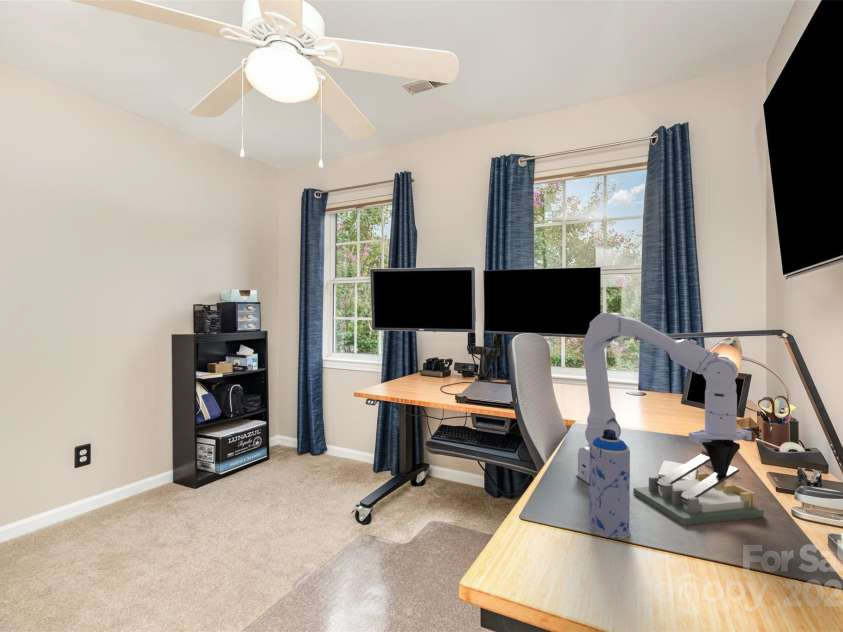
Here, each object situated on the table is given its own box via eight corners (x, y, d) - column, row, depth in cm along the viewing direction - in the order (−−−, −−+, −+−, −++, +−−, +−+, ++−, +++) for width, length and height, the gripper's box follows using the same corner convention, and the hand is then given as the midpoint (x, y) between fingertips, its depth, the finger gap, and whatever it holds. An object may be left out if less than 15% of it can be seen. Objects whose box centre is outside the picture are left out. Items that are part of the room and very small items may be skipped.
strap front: (689, 502, 88) (688, 500, 88) (680, 497, 90) (679, 495, 90) (739, 471, 90) (738, 468, 90) (728, 466, 93) (727, 464, 93)
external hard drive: (697, 472, 115) (694, 487, 105) (663, 465, 120) (657, 479, 110) (697, 466, 115) (694, 480, 105) (663, 460, 120) (657, 473, 110)
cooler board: (684, 525, 85) (684, 504, 84) (633, 494, 99) (633, 475, 99) (763, 516, 88) (763, 496, 88) (703, 487, 103) (703, 469, 103)
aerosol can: (594, 514, 89) (595, 423, 89) (634, 527, 84) (635, 430, 84) (582, 529, 83) (583, 431, 83) (624, 543, 78) (625, 439, 78)
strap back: (664, 488, 95) (663, 486, 95) (656, 484, 97) (655, 482, 97) (711, 459, 97) (710, 457, 97) (701, 456, 100) (700, 453, 100)
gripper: (708, 418, 85) (708, 483, 86) (765, 415, 88) (765, 477, 88) (681, 410, 92) (680, 470, 92) (734, 407, 95) (734, 465, 95)
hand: (720, 473), depth 91 cm, fingers closed
